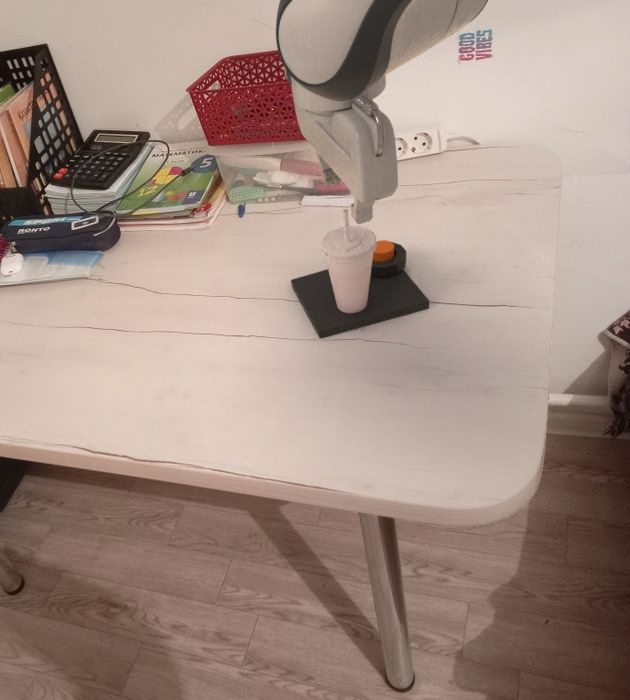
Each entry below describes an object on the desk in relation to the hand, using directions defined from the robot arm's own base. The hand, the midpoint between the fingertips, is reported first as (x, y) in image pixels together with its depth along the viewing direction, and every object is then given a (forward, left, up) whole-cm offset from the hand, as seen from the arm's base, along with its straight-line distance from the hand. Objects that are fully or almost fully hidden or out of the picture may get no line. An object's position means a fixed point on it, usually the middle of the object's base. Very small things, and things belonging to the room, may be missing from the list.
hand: (346, 200), depth 70 cm
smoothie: (0, 0, -15) cm, 15 cm away
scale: (-1, -3, -16) cm, 16 cm away
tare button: (-6, -6, -13) cm, 16 cm away
